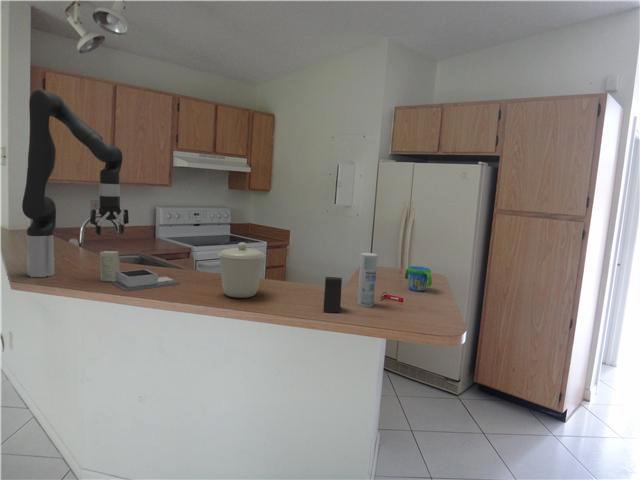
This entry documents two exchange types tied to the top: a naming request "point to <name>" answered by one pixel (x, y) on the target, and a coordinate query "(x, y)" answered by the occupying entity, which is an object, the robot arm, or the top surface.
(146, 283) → the board
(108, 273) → the skincare box
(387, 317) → the top surface
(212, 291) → the top surface
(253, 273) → the canister
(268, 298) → the top surface
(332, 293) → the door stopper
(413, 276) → the snack cup
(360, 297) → the spray can
